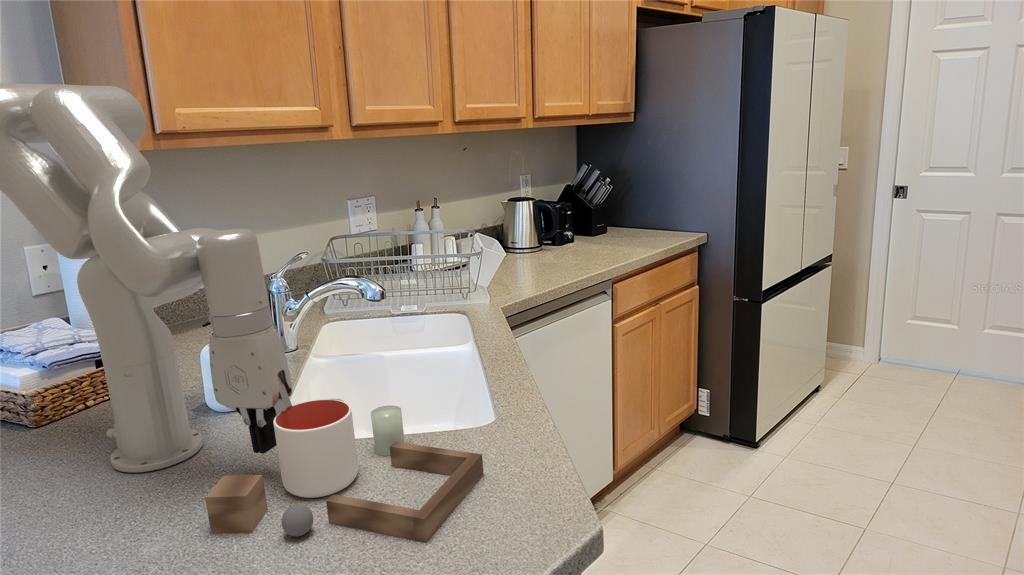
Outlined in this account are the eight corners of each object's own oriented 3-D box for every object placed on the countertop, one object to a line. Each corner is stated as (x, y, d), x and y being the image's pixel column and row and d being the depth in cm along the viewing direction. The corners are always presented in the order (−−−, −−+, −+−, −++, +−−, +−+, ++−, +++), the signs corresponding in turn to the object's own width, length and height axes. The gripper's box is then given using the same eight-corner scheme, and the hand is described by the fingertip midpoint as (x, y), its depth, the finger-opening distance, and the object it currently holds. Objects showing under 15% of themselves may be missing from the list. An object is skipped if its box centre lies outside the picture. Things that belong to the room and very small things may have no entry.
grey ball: (277, 539, 81) (272, 512, 80) (297, 522, 85) (293, 496, 84) (302, 545, 80) (298, 517, 79) (321, 527, 83) (317, 501, 82)
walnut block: (211, 534, 83) (204, 497, 82) (229, 511, 88) (223, 475, 87) (252, 533, 83) (246, 496, 82) (267, 510, 88) (262, 474, 87)
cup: (365, 461, 99) (357, 396, 97) (351, 499, 89) (343, 428, 87) (294, 466, 99) (285, 401, 96) (273, 504, 89) (262, 433, 87)
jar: (369, 454, 101) (364, 416, 100) (385, 440, 105) (381, 404, 104) (395, 458, 100) (391, 419, 98) (410, 444, 104) (406, 407, 102)
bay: (328, 522, 84) (325, 500, 83) (397, 461, 99) (395, 441, 98) (426, 542, 79) (424, 519, 78) (483, 474, 94) (482, 454, 93)
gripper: (178, 329, 92) (205, 456, 96) (267, 332, 86) (291, 466, 90) (220, 314, 98) (244, 433, 103) (305, 315, 93) (326, 441, 97)
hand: (266, 448), depth 96 cm, fingers closed
